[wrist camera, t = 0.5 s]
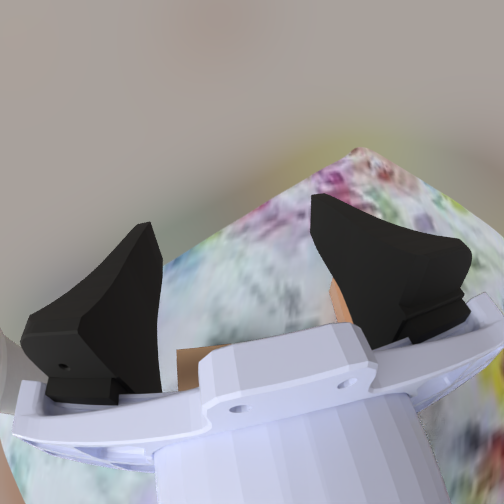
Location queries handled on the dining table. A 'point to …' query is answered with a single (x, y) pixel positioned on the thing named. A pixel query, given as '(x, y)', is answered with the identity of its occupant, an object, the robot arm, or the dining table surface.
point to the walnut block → (191, 365)
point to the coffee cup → (14, 373)
